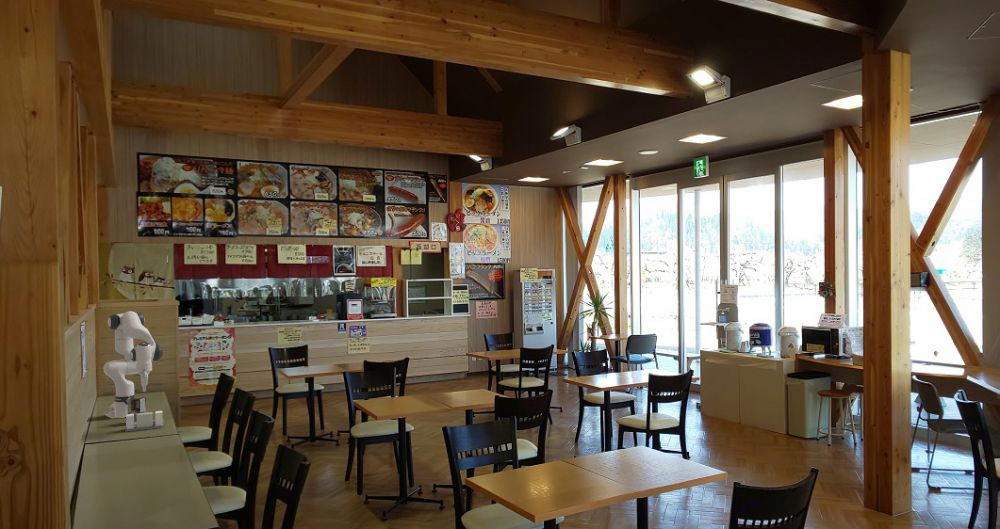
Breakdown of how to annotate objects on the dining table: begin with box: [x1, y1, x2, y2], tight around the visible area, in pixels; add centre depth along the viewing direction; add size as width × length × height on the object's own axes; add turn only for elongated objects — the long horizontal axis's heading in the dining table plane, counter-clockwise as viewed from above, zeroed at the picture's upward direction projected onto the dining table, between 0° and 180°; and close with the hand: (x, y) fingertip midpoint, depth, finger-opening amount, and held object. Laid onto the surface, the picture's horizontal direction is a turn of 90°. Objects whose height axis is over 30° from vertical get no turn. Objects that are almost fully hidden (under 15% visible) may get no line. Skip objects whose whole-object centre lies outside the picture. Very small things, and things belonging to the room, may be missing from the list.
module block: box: [137, 411, 154, 428], centre depth 422 cm, size 4×9×8 cm, turn 118°
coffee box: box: [127, 396, 147, 423], centre depth 439 cm, size 9×6×16 cm
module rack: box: [125, 410, 165, 433], centre depth 422 cm, size 9×21×10 cm, turn 118°
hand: (144, 390), depth 422 cm, fingers open, 8 cm apart
